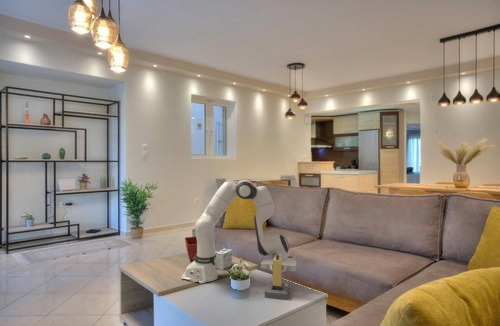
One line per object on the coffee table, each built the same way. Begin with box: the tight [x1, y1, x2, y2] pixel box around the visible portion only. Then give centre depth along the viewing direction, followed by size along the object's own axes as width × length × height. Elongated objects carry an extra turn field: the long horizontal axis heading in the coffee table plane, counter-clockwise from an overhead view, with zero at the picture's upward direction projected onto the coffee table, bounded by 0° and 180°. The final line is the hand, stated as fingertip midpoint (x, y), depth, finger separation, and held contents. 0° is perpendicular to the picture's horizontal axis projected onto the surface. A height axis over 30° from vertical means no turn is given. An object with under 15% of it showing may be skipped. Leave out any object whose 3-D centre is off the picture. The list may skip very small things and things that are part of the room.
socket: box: [264, 282, 290, 301], centre depth 175 cm, size 12×12×4 cm
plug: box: [272, 255, 283, 286], centre depth 174 cm, size 4×4×16 cm
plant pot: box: [184, 236, 217, 264], centre depth 221 cm, size 19×19×17 cm
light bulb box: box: [215, 247, 233, 270], centre depth 215 cm, size 11×7×11 cm, turn 149°
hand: (277, 270), depth 173 cm, fingers closed on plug, 4 cm apart
